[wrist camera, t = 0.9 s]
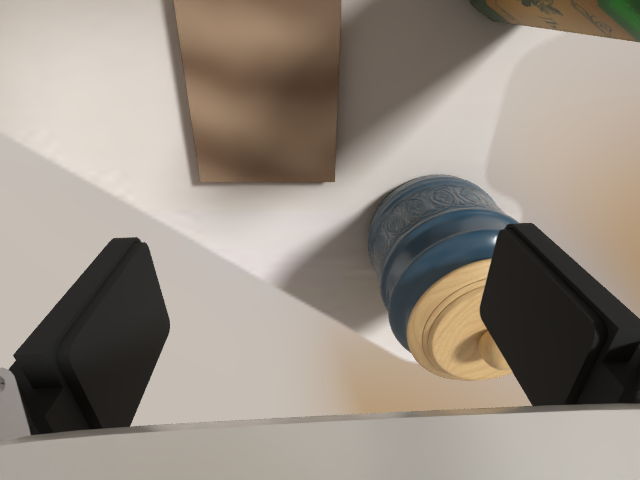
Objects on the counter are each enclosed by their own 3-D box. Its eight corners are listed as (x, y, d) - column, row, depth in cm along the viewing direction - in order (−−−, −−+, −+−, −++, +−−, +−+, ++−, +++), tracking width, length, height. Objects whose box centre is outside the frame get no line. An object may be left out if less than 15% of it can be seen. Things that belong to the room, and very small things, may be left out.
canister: (401, 300, 44) (455, 450, 28) (341, 216, 38) (369, 347, 23) (509, 244, 41) (636, 379, 25) (462, 144, 35) (587, 239, 20)
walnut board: (168, -72, 26) (162, -77, 25) (341, -67, 27) (343, -71, 26) (204, 176, 35) (200, 182, 34) (333, 176, 36) (334, 181, 35)
